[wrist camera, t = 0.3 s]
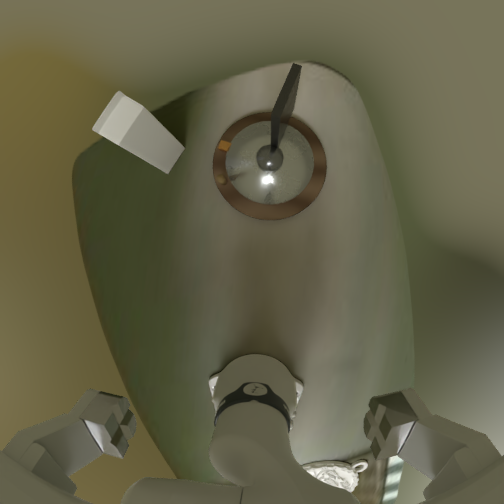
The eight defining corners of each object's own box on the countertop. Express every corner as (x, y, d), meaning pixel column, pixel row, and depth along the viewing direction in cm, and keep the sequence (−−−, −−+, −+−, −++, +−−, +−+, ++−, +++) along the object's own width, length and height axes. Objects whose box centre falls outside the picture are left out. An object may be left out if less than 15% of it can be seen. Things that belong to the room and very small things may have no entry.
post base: (323, 223, 47) (329, 222, 42) (210, 217, 48) (204, 215, 43) (324, 120, 46) (329, 109, 41) (219, 114, 47) (214, 103, 42)
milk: (146, 160, 48) (78, 122, 26) (163, 135, 48) (104, 84, 26) (168, 174, 48) (104, 138, 26) (186, 148, 48) (133, 96, 26)
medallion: (256, 481, 52) (255, 487, 50) (347, 440, 50) (349, 446, 47) (300, 510, 52) (300, 515, 50) (379, 474, 50) (382, 479, 48)
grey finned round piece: (296, 217, 45) (309, 208, 30) (205, 184, 46) (177, 162, 31) (328, 125, 44) (350, 83, 29) (243, 96, 45) (233, 48, 30)
